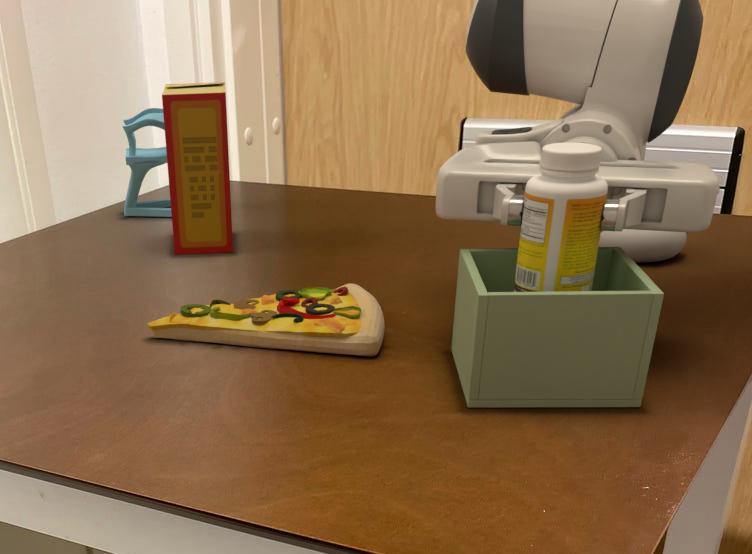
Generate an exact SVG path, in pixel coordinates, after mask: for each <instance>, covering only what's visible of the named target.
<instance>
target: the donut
mask: <svg viewBox="0 0 752 554" xmlns="http://www.w3.org/2000/svg"><path fill="white" fill-rule="evenodd" d="M687 237H688V235H687V232H671V231H652V230H633V229H622V232H620V231H603V232H601V234H600V240H599V247H621V248H622V249H623V250H624V251H625V252H626V253H627V255H628V256H629V257H630V258H631V259H632V260H633V261H634V262H635V263H638V264H639V263H657V262H662V261H666V260H669V259H672V258H674V257H675V256H676V255H678V254H679V253H680V252H681V251H682V250H683V249H684V248H685V246H686V243H687V240H688V239H687Z"/></svg>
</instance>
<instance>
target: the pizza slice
mask: <svg viewBox="0 0 752 554" xmlns="http://www.w3.org/2000/svg"><path fill="white" fill-rule="evenodd" d="M146 324H147V328H148V329H149V331H150V335H151V338H154V339H169V340H176V341H188V342H199V343H201V342H202V343H213V344H223V345H233V346H243V347H251V348H263V349H275V350H285V351H286V350H287V351H296V352H297V351H298V352H310V353H324V354H335V355H350V356H359V357H375V356H376V355H378V353H379V352H380V350H381V347H382V344H383V341H384V336H385V328H386V327H385V326H386V323H385V318H384V312H383V310H382V307H381V305H380V304H379V302H378V300H377V299H376V298H375V296H374V295H372V294H371V293H370V292H368V291H367V290H365V288H364V287H362V286H360V285H359V284H356V283H351V282H349V283H346V284H344V285H341V286H339V287H337V288H329V287H325V286H324V287H323V286H317V287H315V286H313V287H304V288H301V289H300V290H298V289H283V290H279V291H277V292H276V293H273V294H270V295H267V294H263V295H262V296H261V297H255V298H254V297H253V298H248V299H241V300H237V301H236V302H234V303H229V302H227V301H225V300H223V299H213V300H211V303H210V304H201V303H199V304H198V303H189V304H183V305H181V306H180V312H179V313H175V312H170V313H169V315H167V316H164V317H161V318H158V319H156V320H152V321H150V322H147V323H146Z"/></svg>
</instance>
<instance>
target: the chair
mask: <svg viewBox="0 0 752 554" xmlns="http://www.w3.org/2000/svg"><path fill="white" fill-rule="evenodd" d="M122 122H123V123H124V125H122V128H123V131H124V133H125V135H126V138H127V143H128V148H126V149H125V165H126V166H129V168H130V177H129V182H128V187H127V192H126V196H125V199H124V205H123V207H124V209H123V212H124V213H123V216H124V217H159V218H161V217H162V218H163V217H164V218H172V214H171V201H170V198H163V199H154V200H146V201H138V198H139V195H140V190H141V187H142V185H143V181H144V179H145V177H146V175H147V173H148V172H149V171H150V170H152V169H155V168H156V167H159V166H162V165H165V164H167V152H166V146H162V147H154V148H153V147H152V148H151V147H150V148H143V147H141V148H139V147H137V140H136V135H135V133H136V131H138V130H140V129H143V128H144V127H155V128H159V129H161V130H163V131H165V127H164V115H163V108H160V107H150V108H149V107H148V108H146V109H144V110H142V111H140V112H139V113H137V114H136V115H134V116H132V117H130V118H127V119H123V120H122ZM134 132H135V133H134Z"/></svg>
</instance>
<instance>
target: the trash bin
mask: <svg viewBox="0 0 752 554" xmlns="http://www.w3.org/2000/svg"><path fill="white" fill-rule="evenodd" d="M518 249H519V247H495V248H491V247H490V248H489V247H488V248H487V247H485V248H484V247H483V248H460V249H459V254H458V255H459V256H458V265H457V266H458V267H457V279H456V291H455V302H454V315H453V324H452V325H453V326H452V337H451V353H452V356H453V360H454V364H455V367H456V371H457V375H458V378H459V382H460V385H461V388H462V391H463V395H464V400H465V402H466V406H467V408H468V409H470V408H472V409H475V408H476V409H477V408H478V409H479V408H480V409H481V408H483V409H485V408H486V409H487V408H488V409H489V408H493V409H494V408H499V409H500V408H505V409H506V408H508V409H509V408H512V409H513V408H515V409H516V408H519V409H521V408H641V406H642V402H643V401H642V400H643V397H644V392H645V388H646V382H647V378H648V374H649V373H648V372H649V369H650V363H651V358H652V353H653V348H654V343H655V339H656V336H657V335H656V334H657V329H658V325H659V321H660V320H659V319H660V316H661V310H662V306H663V302H664V301H663V300H664V296H665V293H664V292H663V291H662V289H660V287H659V286H658V285H657V284H656V283H655V282H654V281H653V280H652V279H651V278H650V277H649V276H648V274H646V272H645V271H643V269H642V268H641V267H640V266H639V265H638V264H637V262H634V261H633V260H632V259H631V258H630V257H629V256H628V255H627V253H626V252H625V251H624V250H623V249H622V248H621V247H598V253H597V259H596V265H595V271H594V277H593V283H592V290H591V291H558V292H514V283H515V275H516V266H517V257H518Z"/></svg>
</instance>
